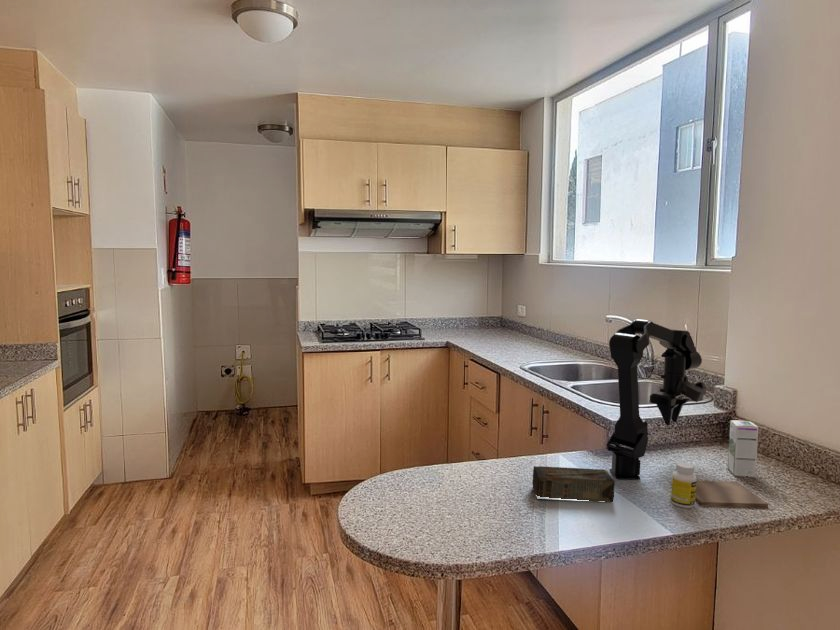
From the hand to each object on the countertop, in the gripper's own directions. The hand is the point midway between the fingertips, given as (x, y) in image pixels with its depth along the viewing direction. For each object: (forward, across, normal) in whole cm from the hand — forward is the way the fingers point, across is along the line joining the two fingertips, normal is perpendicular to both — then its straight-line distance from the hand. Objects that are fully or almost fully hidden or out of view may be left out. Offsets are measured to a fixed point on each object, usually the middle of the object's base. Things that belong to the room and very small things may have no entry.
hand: (671, 423), depth 168 cm
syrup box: (+11, +4, -18) cm, 22 cm away
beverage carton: (+12, -46, +5) cm, 47 cm away
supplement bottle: (+11, -30, -16) cm, 35 cm away
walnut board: (+11, -17, -20) cm, 28 cm away
